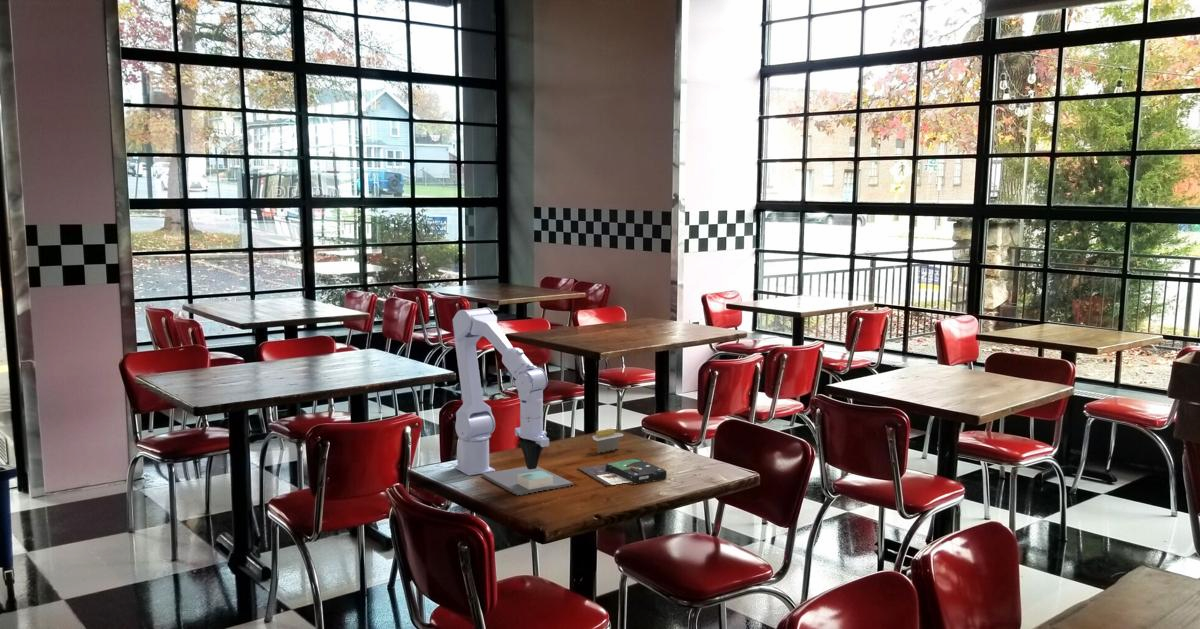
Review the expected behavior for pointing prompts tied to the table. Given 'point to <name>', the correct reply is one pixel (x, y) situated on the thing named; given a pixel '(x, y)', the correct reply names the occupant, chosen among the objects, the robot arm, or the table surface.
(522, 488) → the mat
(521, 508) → the table surface
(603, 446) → the grey rimmed container
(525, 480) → the tile
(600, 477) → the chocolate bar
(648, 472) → the disk drive
